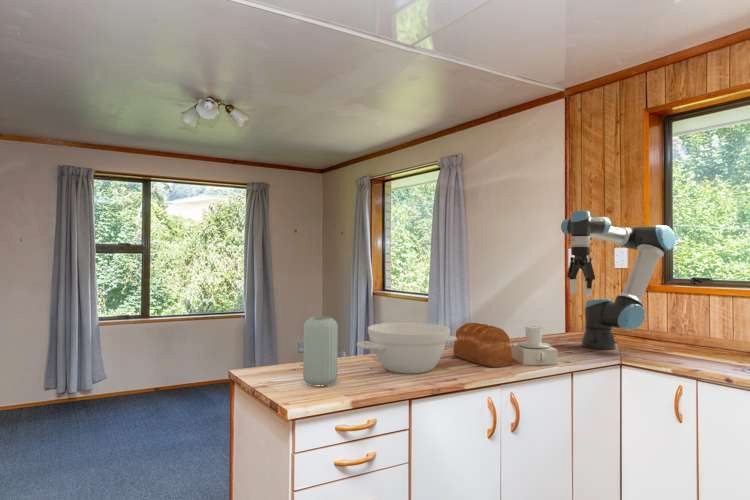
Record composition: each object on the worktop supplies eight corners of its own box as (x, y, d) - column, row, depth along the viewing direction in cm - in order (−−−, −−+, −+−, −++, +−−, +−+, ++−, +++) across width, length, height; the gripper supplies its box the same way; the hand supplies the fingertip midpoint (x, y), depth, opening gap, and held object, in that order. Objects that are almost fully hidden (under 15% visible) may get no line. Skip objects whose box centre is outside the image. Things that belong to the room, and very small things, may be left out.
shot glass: (526, 342, 210) (526, 325, 210) (543, 343, 207) (543, 326, 207) (524, 344, 203) (524, 327, 203) (542, 346, 201) (542, 328, 201)
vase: (296, 386, 164) (297, 319, 164) (313, 378, 175) (313, 315, 175) (328, 389, 160) (328, 321, 160) (342, 381, 170) (343, 316, 171)
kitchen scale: (511, 357, 212) (511, 341, 212) (543, 357, 213) (543, 341, 213) (524, 365, 197) (524, 347, 197) (558, 364, 198) (558, 347, 198)
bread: (475, 353, 221) (475, 319, 221) (517, 365, 197) (517, 326, 197) (449, 356, 214) (449, 320, 215) (489, 369, 191) (489, 329, 191)
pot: (379, 385, 166) (379, 338, 166) (339, 366, 194) (340, 326, 194) (479, 371, 187) (479, 329, 187) (430, 355, 215) (431, 319, 215)
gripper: (559, 246, 227) (559, 292, 227) (586, 245, 203) (586, 297, 202) (575, 246, 228) (575, 292, 228) (604, 245, 203) (604, 297, 203)
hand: (580, 295), depth 215 cm, fingers open, 13 cm apart
